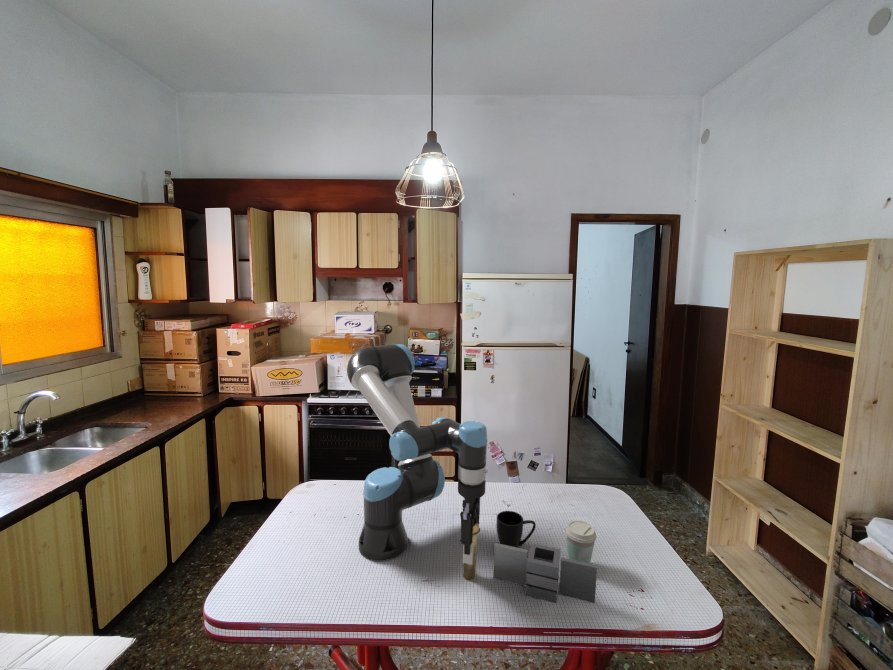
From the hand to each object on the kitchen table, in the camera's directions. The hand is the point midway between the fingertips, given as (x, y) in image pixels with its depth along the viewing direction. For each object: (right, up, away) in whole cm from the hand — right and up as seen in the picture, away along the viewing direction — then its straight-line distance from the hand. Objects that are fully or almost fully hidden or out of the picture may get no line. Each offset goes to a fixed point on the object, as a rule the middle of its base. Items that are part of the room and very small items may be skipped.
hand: (469, 557), depth 114 cm
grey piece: (+15, -6, -2) cm, 16 cm away
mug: (+15, -4, +14) cm, 21 cm away
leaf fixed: (+24, -7, -5) cm, 25 cm away
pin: (0, -6, +1) cm, 6 cm away
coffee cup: (+32, -6, +6) cm, 33 cm away
